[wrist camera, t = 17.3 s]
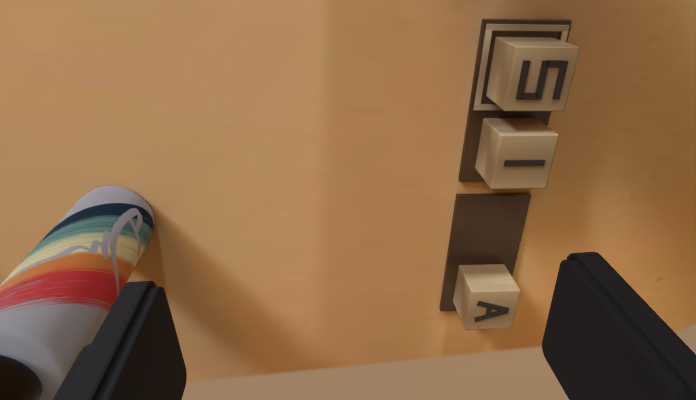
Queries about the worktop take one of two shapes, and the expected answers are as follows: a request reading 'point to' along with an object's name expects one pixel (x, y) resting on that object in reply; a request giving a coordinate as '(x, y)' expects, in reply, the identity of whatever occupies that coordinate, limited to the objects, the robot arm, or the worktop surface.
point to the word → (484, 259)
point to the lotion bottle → (68, 290)
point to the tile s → (531, 73)
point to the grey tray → (507, 119)
